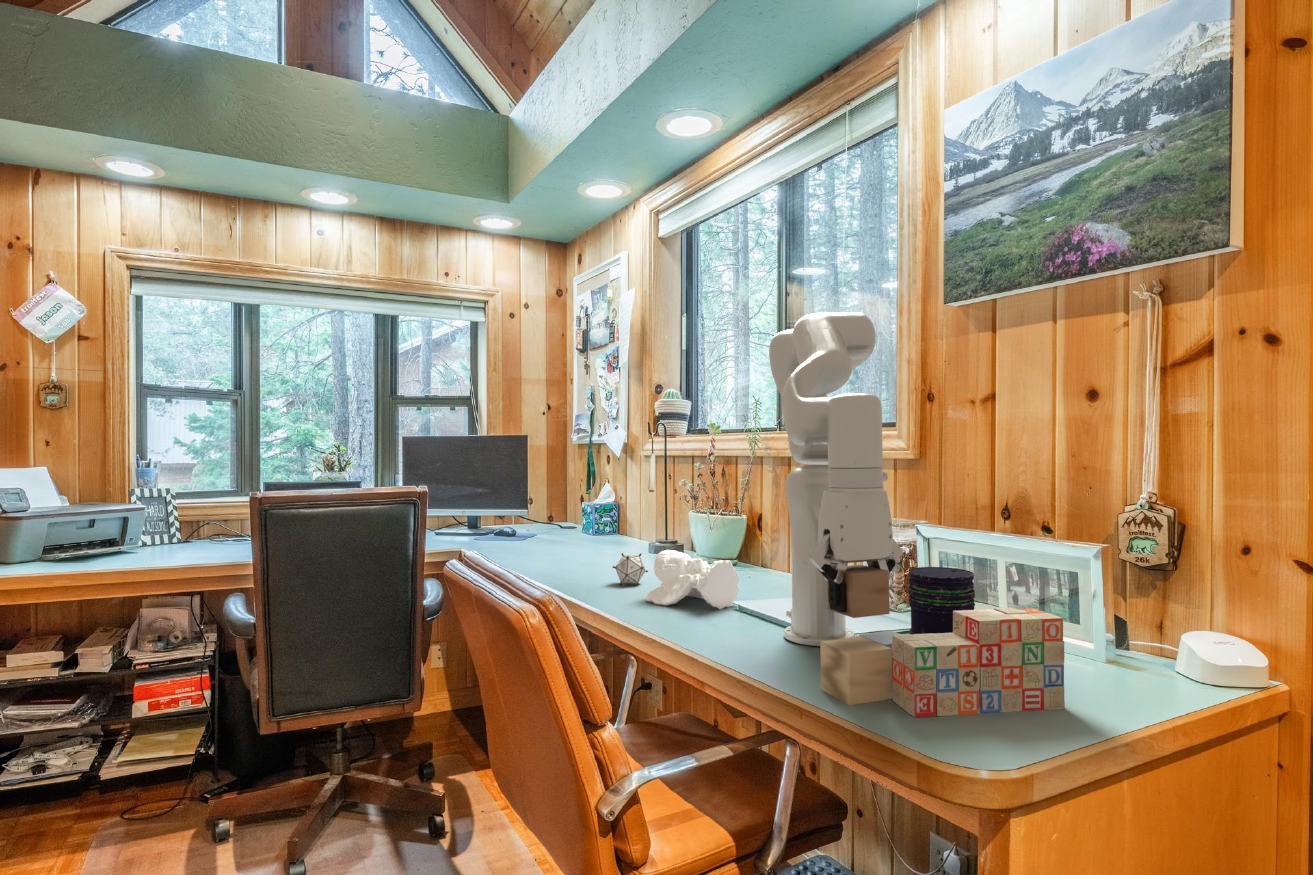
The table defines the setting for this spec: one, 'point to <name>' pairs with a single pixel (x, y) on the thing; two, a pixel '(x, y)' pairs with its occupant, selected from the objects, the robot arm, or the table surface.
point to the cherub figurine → (693, 580)
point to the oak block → (856, 670)
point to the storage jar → (938, 597)
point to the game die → (630, 569)
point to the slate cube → (881, 638)
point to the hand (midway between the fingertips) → (857, 607)
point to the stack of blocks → (982, 664)
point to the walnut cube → (865, 591)
